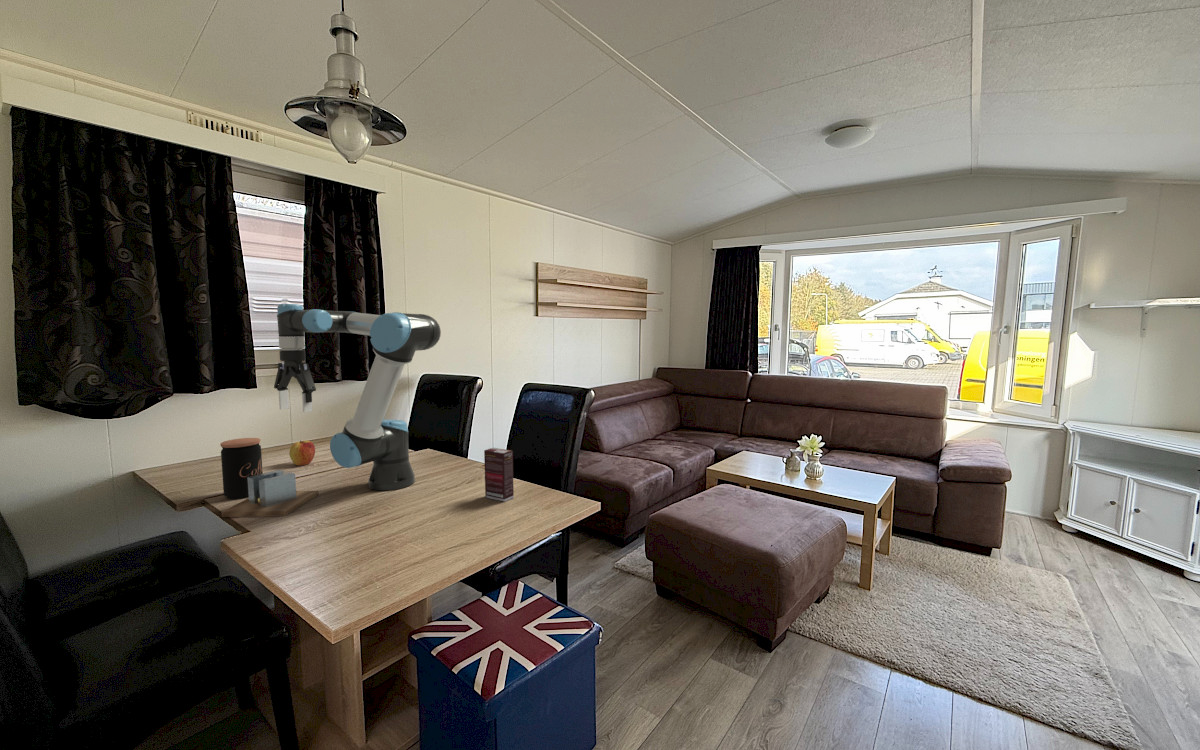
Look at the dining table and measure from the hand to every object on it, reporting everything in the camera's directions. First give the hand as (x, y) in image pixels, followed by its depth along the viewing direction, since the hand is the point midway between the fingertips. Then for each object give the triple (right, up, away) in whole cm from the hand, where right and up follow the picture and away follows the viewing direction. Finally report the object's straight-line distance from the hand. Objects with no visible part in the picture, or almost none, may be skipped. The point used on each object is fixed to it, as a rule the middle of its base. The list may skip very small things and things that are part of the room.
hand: (295, 410), depth 166 cm
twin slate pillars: (+4, -27, -17) cm, 32 cm away
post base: (+4, -28, -17) cm, 33 cm away
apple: (-15, -25, +29) cm, 41 cm away
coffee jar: (-13, -28, -7) cm, 31 cm away
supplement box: (+73, -28, -10) cm, 79 cm away
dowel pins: (+4, -27, -18) cm, 32 cm away
